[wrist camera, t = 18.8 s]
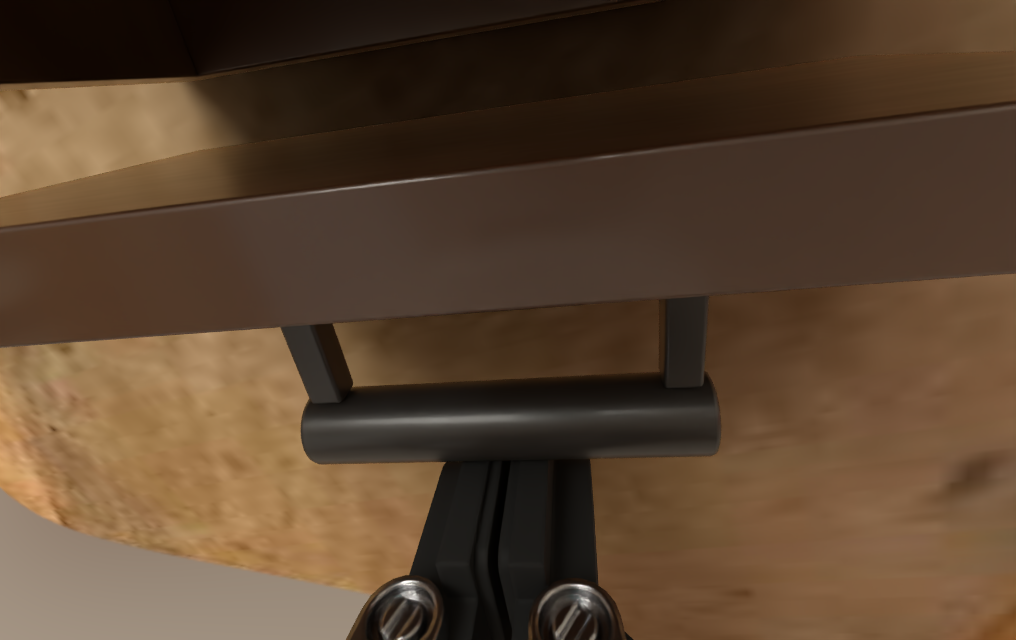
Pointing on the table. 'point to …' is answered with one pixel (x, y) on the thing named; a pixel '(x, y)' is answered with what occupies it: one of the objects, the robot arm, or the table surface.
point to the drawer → (496, 213)
